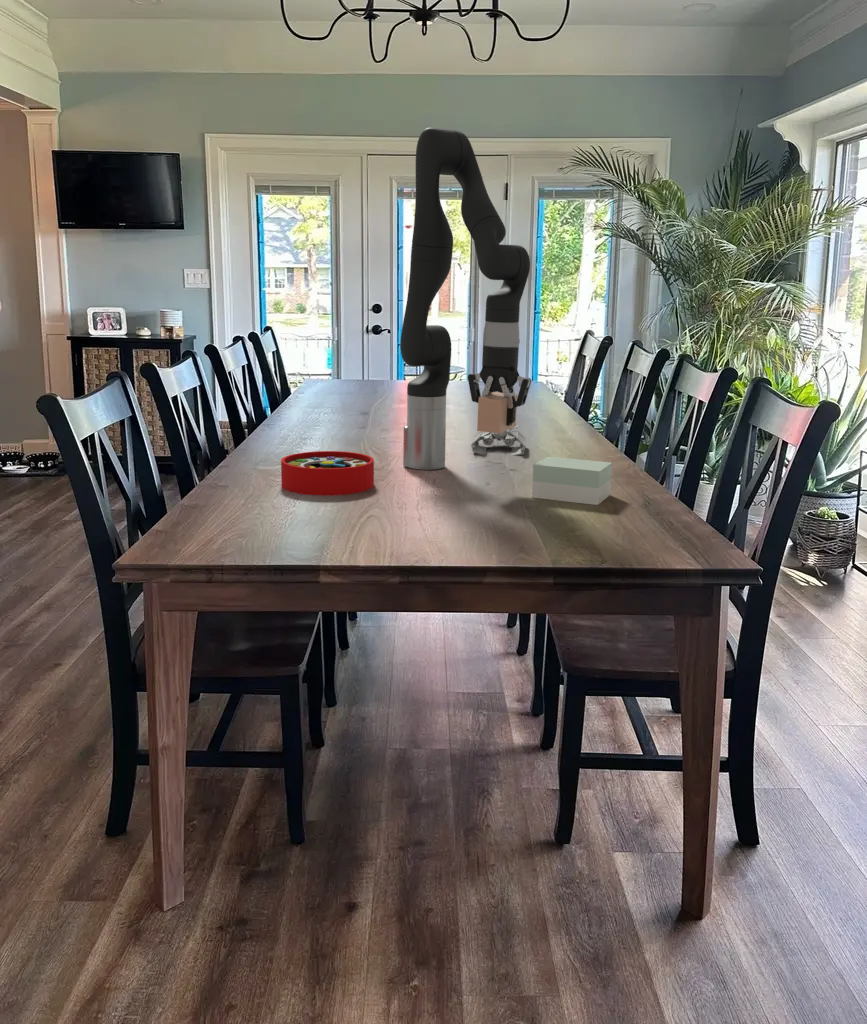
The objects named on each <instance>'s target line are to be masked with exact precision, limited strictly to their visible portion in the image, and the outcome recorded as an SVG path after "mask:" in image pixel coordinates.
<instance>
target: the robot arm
mask: <svg viewBox="0 0 867 1024" xmlns="http://www.w3.org/2000/svg"><path fill="white" fill-rule="evenodd" d="M415 149H416V151H415V204H414V205H415V206H414V220H413V232H412V239H411V243H412V244H411V248H410V249H411V250H410V267H409V268H410V269H409V277H408V278H409V280H408V291H407V299H406V305H405V306H406V307H405V310H404V316H403V322H402V327H401V328H402V329H401V332H400V333H401V334H400V343H399V344H400V346H399V347H400V355H401V358H402V360H403V362H404V363H405V364H406V365H407V366H409V367H423V369H422V370H423V371H422V372H421V373H420V374H419V375H418V376H417V377H416V378H414V379H412V380H411V381H409V382H408V383H407V387H406V388H407V389H406V390H407V391H406V394H407V395H406V399H407V400H406V425H405V426H403V441H402V442H403V445H402V446H403V450H402V451H403V452H402V454H403V457H402V458H403V459H402V460H403V463H402V464H403V467H407V468H410V469H413V470H423V471H424V470H426V471H429V470H440V469H443V468H445V467H446V435H447V434H446V432H447V431H446V430H447V429H446V427H447V426H446V425H447V418H446V416H447V389H448V385H449V383H450V374H451V372H450V371H451V362H452V341H451V336H450V333H449V331H448V329H447V328H446V327H445V326H443V325H437V324H436V325H433V324H432V325H431V324H430V325H428V317H429V312H430V308H431V305H432V303H433V301H434V299H435V297H436V295H437V294H438V292H439V291H440V289H441V288H442V286H443V284H444V283H445V282H446V279H448V276H449V274H450V271H451V267H452V259H453V251H454V235H453V232H452V229H451V226H450V224H449V221H448V218H447V217H446V214H445V212H444V209H443V206H442V203H441V199H440V198H441V197H440V175H441V176H453V177H454V178H455V179H456V180H457V182H458V184H459V185H460V186H461V189H462V196H461V203H460V204H461V205H460V213H461V218H462V221H463V223H464V225H465V227H466V229H467V231H468V232H469V235H470V236H471V239H472V240H473V242H474V243H473V244H474V249H475V253H476V259H477V265H478V268H479V271H480V272H481V274H483V276H485V277H486V278H487V279H489V280H492V281H503V282H502V285H501V287H500V289H499V290H497V291H495V292H494V291H493V292H492V293H489V294H488V295H487V297H486V302H485V318H484V319H485V321H484V328H483V333H482V334H483V335H482V337H483V339H482V340H483V341H482V358H481V359H482V360H481V361H482V362H481V366H482V368H481V370H480V371H479V372H478V373H474V372H472V373H469V374H468V375H467V381H468V386H469V393H470V397H471V401H472V402H473V403H477V404H478V400H479V398H480V397H483V396H489V395H492V394H493V393H495V392H499V393H503V394H504V397H505V398H507V405H508V409H507V419H506V425H507V426H511V425H512V423H514V422H515V415H516V416H517V411H516V407H517V408H518V407H522V406H524V405H526V402H527V398H528V394H529V391H530V387H531V384H532V379H531V378H530V377H524V376H521V375H520V373H519V370H518V368H519V367H518V366H519V352H520V351H519V350H520V349H519V348H520V342H521V341H520V326H519V325H520V310H521V309H520V306H521V305H520V304H521V299H522V297H523V294H524V290H525V288H526V284H527V281H528V278H529V273H530V270H531V259H530V255H529V253H528V251H527V249H526V248H525V247H524V246H522V245H517V244H501V243H502V242H503V241H504V239H505V237H506V233H507V231H506V227H505V224H504V222H503V220H502V218H501V216H500V215H499V212H497V210H496V207H495V206H494V203H493V202H492V200H491V198H490V196H489V194H488V191H487V189H486V185H485V182H484V180H483V176H482V172H481V170H480V166H479V164H478V161H477V157H476V154H475V151H474V148H473V146H472V144H471V141H470V140H469V138H468V136H467V135H466V134H465V133H463V132H461V131H459V130H452V129H446V128H445V129H444V128H440V127H439V128H438V127H426V128H425V129H424V130H422V131H421V133H420V135H419V137H418V140H417V144H416V148H415ZM481 380H482V382H483V384H484V388H483V390H482V392H481V389H480V384H479V383H480V382H481ZM517 382H518V387H519V391H518V394H517V401H516V398H515V394H516V392H515V389H514V386H515V385H516V383H517Z"/></svg>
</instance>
